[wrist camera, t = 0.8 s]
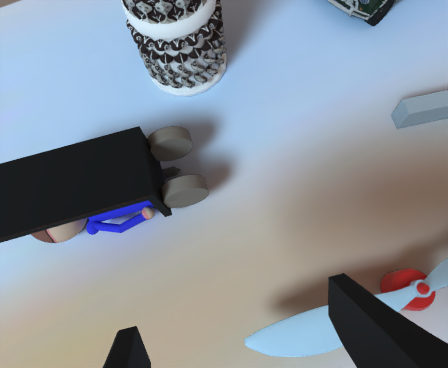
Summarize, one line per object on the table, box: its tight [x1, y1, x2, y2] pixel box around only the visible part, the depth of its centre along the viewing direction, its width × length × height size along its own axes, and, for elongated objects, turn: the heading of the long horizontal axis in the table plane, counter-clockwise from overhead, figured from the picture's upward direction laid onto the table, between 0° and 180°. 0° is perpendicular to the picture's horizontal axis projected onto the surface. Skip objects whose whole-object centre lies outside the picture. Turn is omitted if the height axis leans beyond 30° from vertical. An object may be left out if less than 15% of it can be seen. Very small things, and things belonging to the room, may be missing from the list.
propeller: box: [244, 258, 448, 357], centre depth 23 cm, size 4×25×4 cm, turn 105°
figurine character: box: [0, 126, 209, 243], centre depth 26 cm, size 7×8×15 cm
